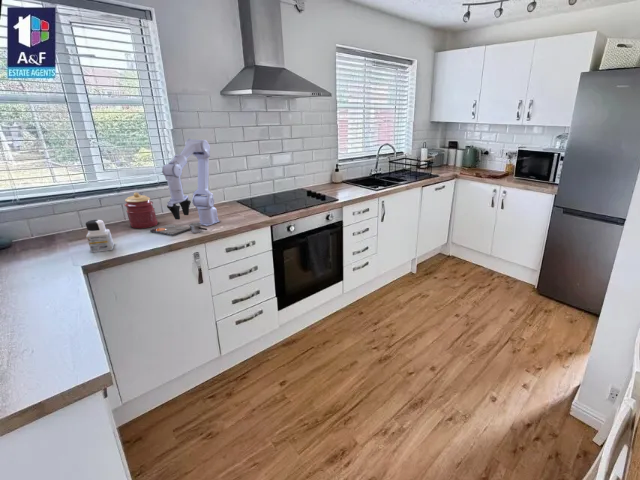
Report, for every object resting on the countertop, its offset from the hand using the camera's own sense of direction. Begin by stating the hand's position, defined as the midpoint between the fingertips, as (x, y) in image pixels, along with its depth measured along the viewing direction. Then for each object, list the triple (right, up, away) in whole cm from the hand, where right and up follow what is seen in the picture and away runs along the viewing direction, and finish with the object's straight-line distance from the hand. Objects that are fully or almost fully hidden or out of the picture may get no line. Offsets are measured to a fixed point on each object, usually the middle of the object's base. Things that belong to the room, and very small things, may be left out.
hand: (182, 217), depth 185 cm
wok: (+6, -7, +7) cm, 11 cm away
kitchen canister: (-29, -2, +15) cm, 32 cm away
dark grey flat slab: (-10, -6, +8) cm, 14 cm away
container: (-27, -18, -17) cm, 36 cm away
